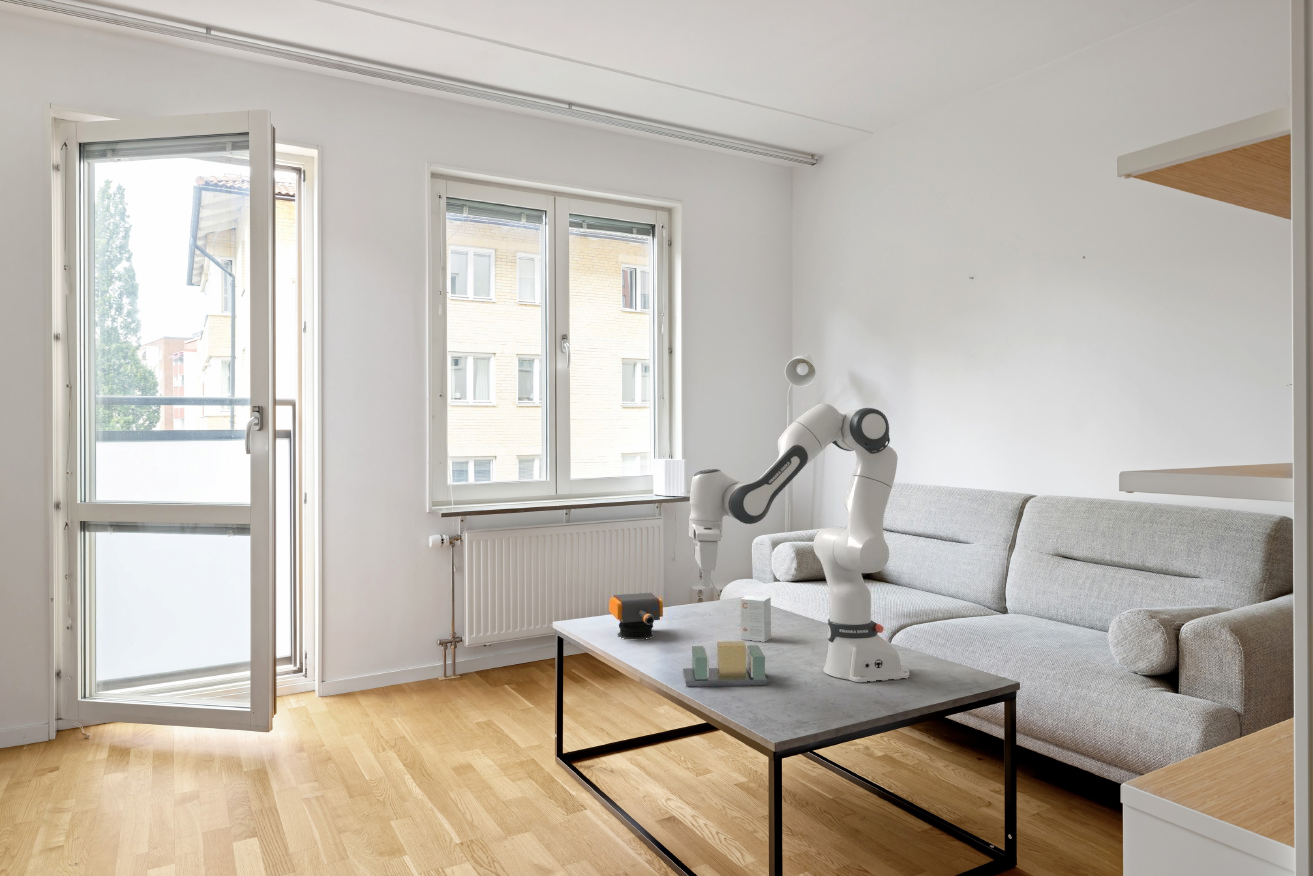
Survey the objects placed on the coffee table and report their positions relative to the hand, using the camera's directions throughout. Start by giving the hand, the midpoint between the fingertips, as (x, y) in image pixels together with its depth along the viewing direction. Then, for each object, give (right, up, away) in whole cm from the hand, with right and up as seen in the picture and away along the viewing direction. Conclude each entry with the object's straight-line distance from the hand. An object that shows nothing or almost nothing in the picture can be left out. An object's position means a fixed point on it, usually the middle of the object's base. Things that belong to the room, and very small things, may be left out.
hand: (703, 582), depth 220 cm
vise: (+5, -26, +1) cm, 26 cm away
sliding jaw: (-1, -24, 0) cm, 24 cm away
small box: (+19, -25, +43) cm, 53 cm away
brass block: (+7, -24, +1) cm, 25 cm away
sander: (-18, -26, +43) cm, 53 cm away
